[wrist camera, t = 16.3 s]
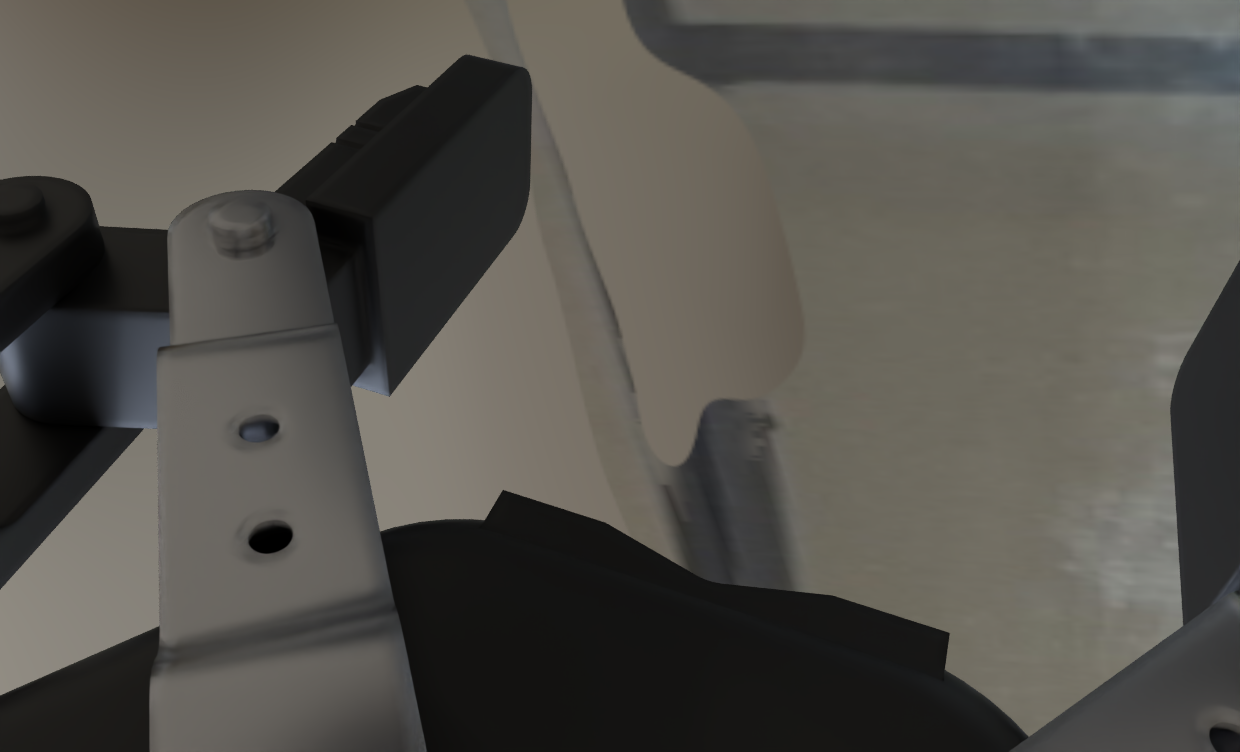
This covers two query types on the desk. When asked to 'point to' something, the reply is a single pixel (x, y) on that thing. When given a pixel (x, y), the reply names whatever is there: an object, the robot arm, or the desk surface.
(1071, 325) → the desk surface
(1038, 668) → the desk surface
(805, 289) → the desk surface
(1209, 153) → the desk surface
